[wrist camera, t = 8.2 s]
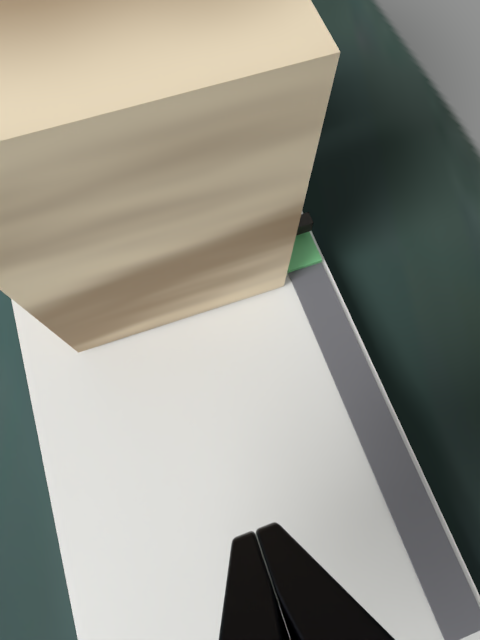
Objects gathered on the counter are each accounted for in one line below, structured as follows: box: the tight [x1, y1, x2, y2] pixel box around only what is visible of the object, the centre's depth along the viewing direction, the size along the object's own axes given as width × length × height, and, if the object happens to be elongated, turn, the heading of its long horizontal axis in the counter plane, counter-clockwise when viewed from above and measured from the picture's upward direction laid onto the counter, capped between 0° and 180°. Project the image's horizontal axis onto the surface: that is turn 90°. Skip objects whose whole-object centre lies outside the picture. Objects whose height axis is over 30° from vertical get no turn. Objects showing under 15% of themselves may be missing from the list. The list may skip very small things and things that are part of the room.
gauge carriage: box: [0, 0, 340, 353], centre depth 13 cm, size 4×10×10 cm, turn 109°
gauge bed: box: [11, 212, 480, 640], centre depth 16 cm, size 23×12×1 cm, turn 19°
